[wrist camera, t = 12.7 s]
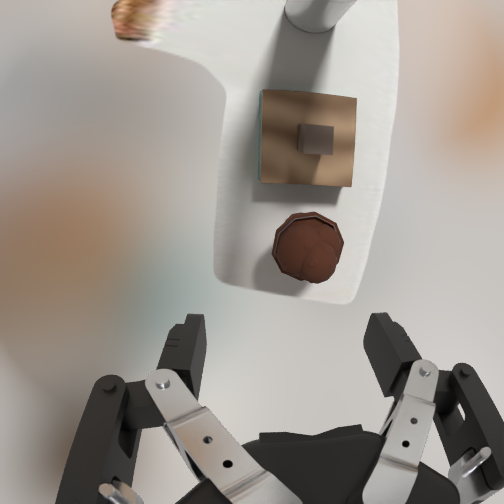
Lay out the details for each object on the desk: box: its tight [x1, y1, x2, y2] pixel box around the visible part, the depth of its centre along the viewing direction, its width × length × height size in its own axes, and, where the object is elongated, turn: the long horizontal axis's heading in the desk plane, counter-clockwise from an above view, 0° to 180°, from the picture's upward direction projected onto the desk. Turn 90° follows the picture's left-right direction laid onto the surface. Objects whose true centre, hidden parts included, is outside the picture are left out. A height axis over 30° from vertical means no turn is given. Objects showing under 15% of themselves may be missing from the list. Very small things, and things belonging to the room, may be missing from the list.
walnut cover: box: [260, 89, 357, 187], centre depth 40 cm, size 15×15×10 cm
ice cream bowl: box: [272, 212, 344, 284], centre depth 44 cm, size 11×11×15 cm
